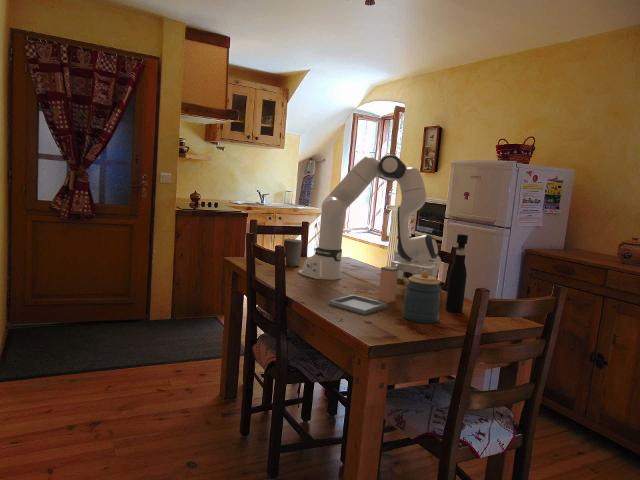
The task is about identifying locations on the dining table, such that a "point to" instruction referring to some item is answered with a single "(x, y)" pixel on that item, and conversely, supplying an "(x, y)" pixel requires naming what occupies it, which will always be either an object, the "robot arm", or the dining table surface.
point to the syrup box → (397, 257)
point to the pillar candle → (293, 252)
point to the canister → (422, 298)
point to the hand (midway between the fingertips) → (404, 269)
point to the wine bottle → (457, 278)
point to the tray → (358, 304)
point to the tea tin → (388, 284)
